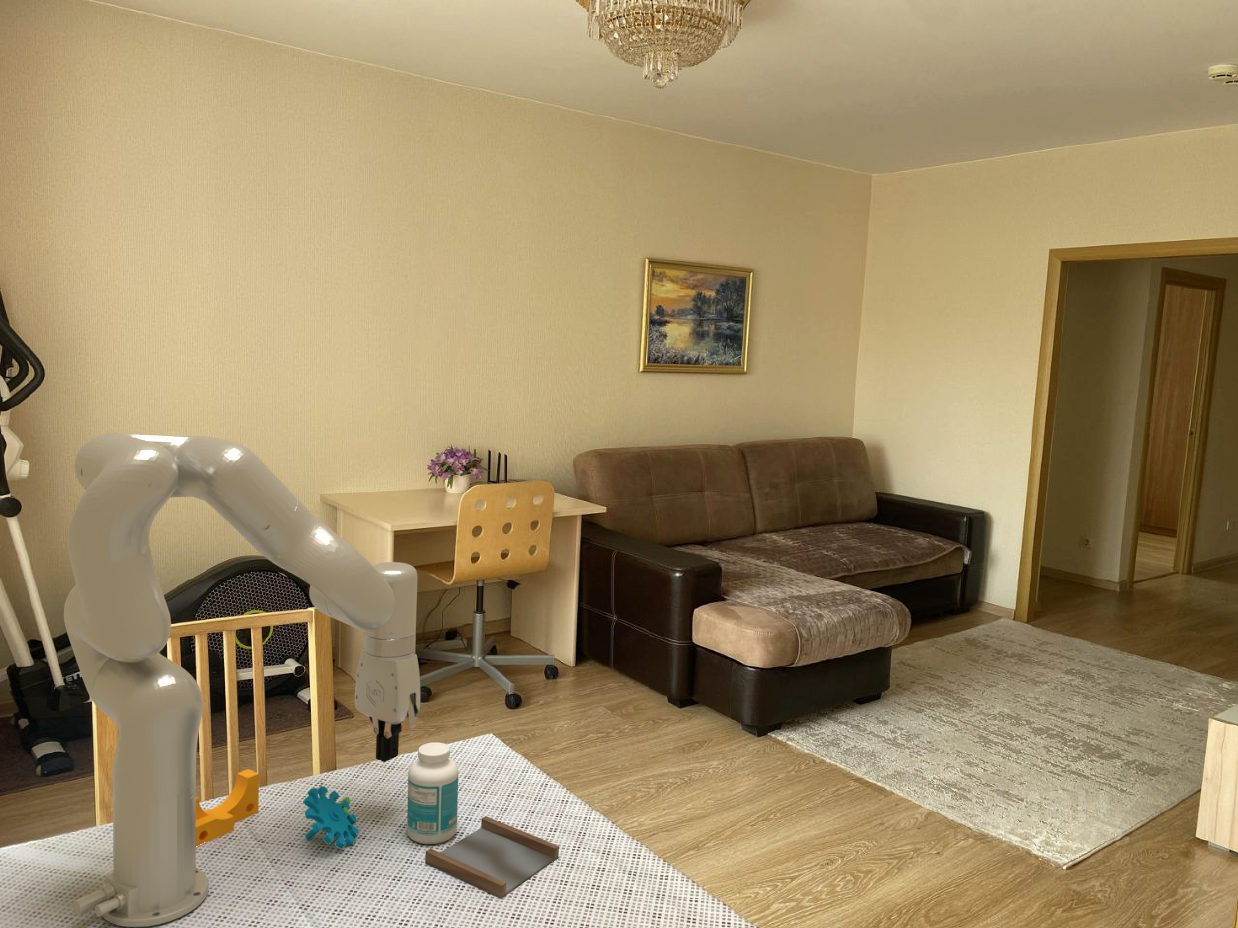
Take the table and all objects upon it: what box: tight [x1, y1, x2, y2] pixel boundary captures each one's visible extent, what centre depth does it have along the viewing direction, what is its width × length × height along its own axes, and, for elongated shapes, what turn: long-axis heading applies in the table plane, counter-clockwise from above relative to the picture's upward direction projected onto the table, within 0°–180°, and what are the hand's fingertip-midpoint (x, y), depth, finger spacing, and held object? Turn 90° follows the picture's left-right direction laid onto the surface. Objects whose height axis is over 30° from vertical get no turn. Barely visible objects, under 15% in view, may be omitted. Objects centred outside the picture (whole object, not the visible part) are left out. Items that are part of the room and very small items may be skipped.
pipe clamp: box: [196, 768, 260, 847], centre depth 139 cm, size 12×4×6 cm, turn 147°
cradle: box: [424, 815, 560, 899], centre depth 134 cm, size 13×14×2 cm
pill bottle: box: [406, 742, 459, 845], centre depth 140 cm, size 8×7×14 cm
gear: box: [302, 785, 360, 849], centre depth 137 cm, size 11×6×10 cm
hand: (387, 757), depth 145 cm, fingers closed
